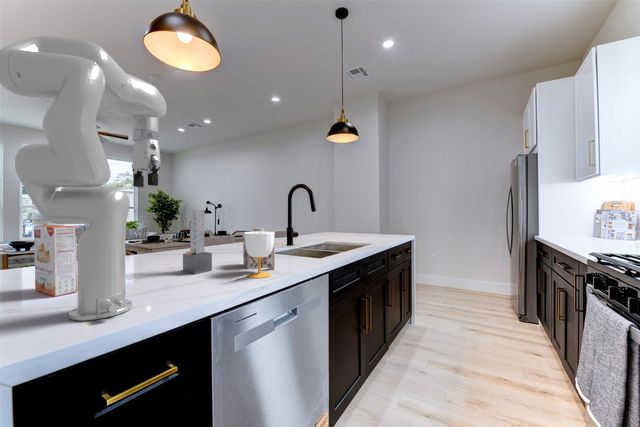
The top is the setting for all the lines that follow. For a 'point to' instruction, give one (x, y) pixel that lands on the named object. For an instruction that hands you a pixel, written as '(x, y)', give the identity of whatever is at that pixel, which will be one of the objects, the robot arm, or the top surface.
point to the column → (197, 232)
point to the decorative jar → (252, 262)
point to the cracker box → (55, 259)
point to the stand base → (197, 263)
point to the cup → (259, 248)
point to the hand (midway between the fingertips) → (145, 186)
